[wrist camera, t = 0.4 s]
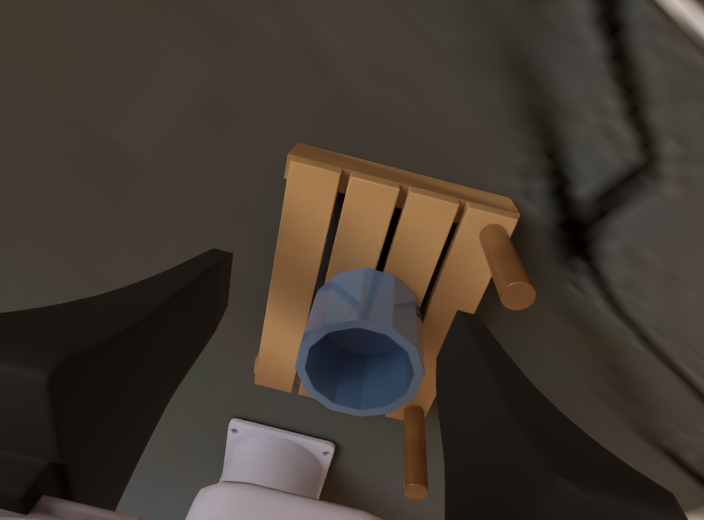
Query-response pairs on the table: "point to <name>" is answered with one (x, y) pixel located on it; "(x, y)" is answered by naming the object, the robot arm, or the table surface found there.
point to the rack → (386, 264)
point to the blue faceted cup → (363, 344)
